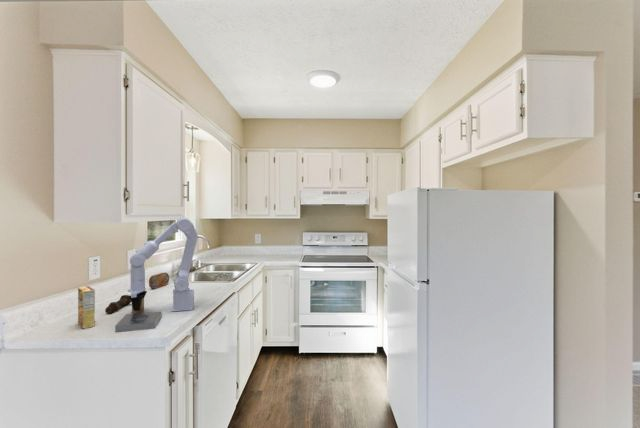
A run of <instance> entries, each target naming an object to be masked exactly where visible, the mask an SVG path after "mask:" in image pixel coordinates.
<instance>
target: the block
mask: <svg viewBox="0 0 640 428" xmlns="http://www.w3.org/2000/svg"><path fill="white" fill-rule="evenodd" d="M136 313H145V297H144V298H142V300H141V305H140V310H139V311H134V309H133V306H132V305H131V314H136Z"/></svg>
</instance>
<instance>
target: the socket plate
mask: <svg viewBox="0 0 640 428" xmlns="http://www.w3.org/2000/svg"><path fill="white" fill-rule="evenodd" d="M162 314H163V313H162V310H160V311H150V312H144V313H136V314H132V313H127V314H125V315H124V316H123V317H122V318H121V319H120V320H119V321H118V322H117V323H116V325H115V326H114V327H115V330H114V331H115V333H118V332H119V333H120V332H131V331H141V330H150V329H156V327H157V326H158V323H159V322H160V320H161V319H162V317H163V316H162Z"/></svg>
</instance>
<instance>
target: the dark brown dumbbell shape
mask: <svg viewBox="0 0 640 428" xmlns="http://www.w3.org/2000/svg"><path fill="white" fill-rule="evenodd" d="M129 296H130V295H129V294H123V295H121V296H120V298H119V300H118V301H113V302H112V301H111V302H110V303H109V304H108V305H107V307H106V308H105V309H104V311H105V313H106V314H111V313H116V312H118V311H119V310H120V308H121V307H123V306H130V304H132V303H131V301H130V299H129Z"/></svg>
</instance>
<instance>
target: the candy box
mask: <svg viewBox="0 0 640 428" xmlns="http://www.w3.org/2000/svg"><path fill="white" fill-rule="evenodd" d="M95 292H96V290H95V289H94V288H92V287H91V286H81V287H77V324H78V325H79V326H80V327H81V328H82V329H83V330H84V329H89V328H93V327H95V312H96V311H95V307H96V306H95V305H96V303H95V302H96V301H95V296H96V295H95V294H96V293H95Z"/></svg>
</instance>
